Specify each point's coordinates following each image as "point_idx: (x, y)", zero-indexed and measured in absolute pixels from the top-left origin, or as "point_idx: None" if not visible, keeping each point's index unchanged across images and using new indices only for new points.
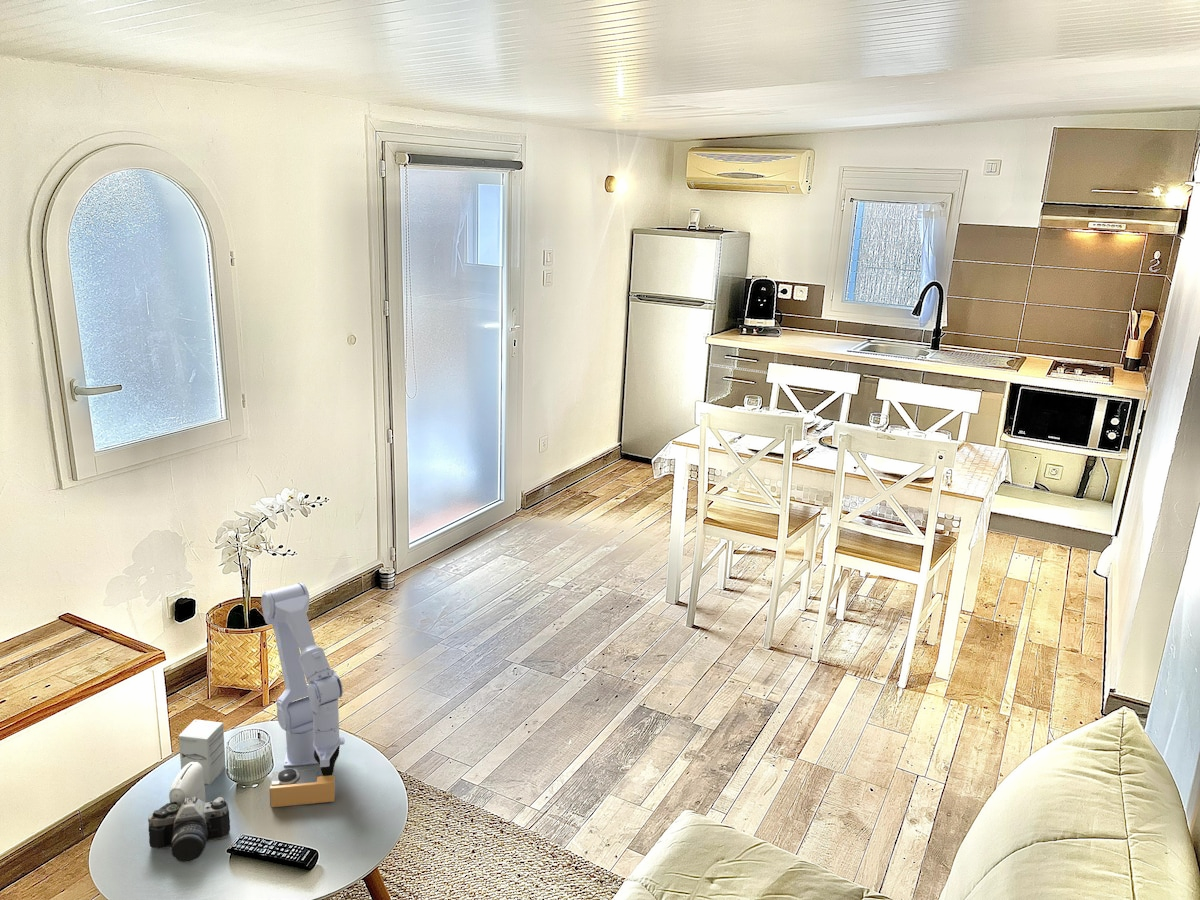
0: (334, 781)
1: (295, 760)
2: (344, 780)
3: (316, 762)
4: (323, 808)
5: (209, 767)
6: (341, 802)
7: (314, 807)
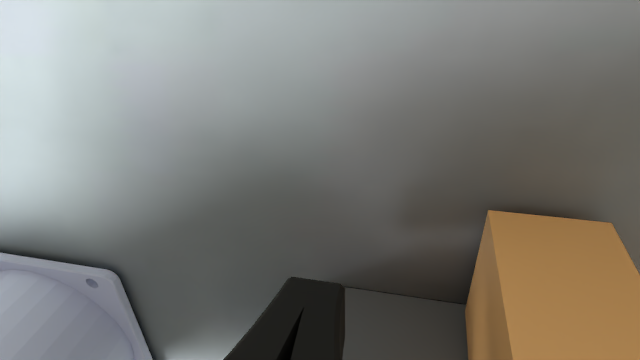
0: (537, 332)
1: None
2: (286, 120)
3: (112, 283)
4: None
5: None
6: (624, 153)
7: None
